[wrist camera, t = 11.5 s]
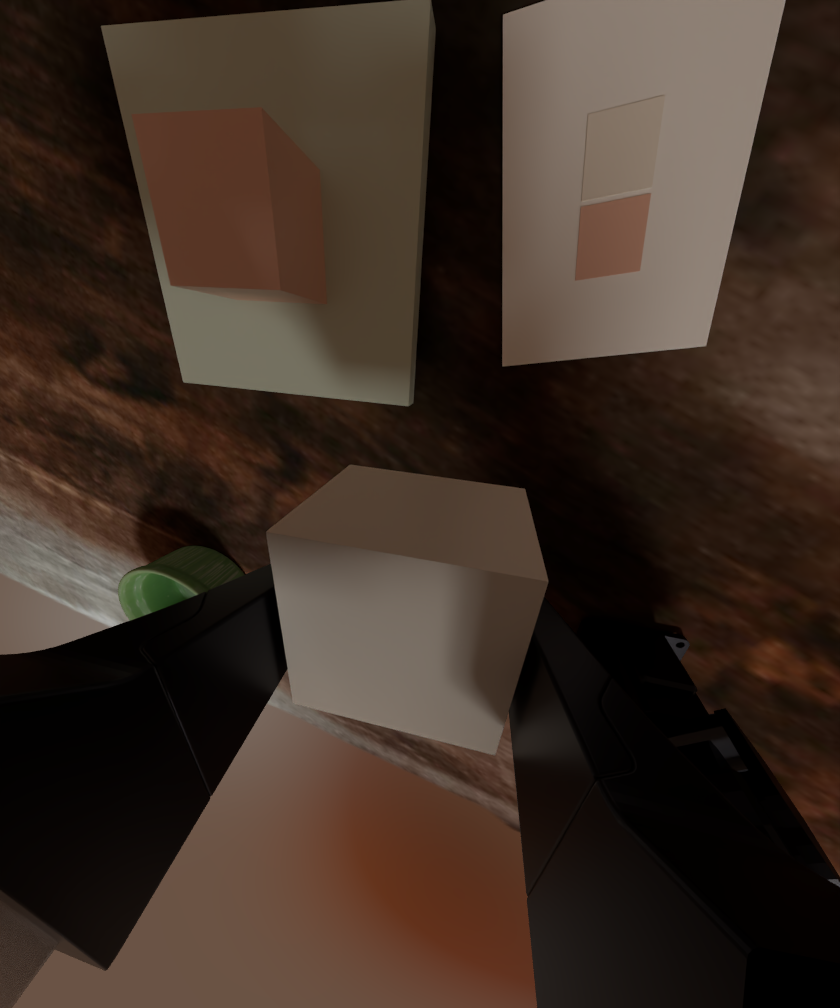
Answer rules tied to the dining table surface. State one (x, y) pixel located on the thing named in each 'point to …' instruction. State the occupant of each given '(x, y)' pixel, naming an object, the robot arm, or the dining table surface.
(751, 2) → the page
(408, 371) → the baseplate
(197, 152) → the terracotta brick
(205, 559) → the ramekin
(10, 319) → the dining table surface
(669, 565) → the dining table surface
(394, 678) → the cream brick
